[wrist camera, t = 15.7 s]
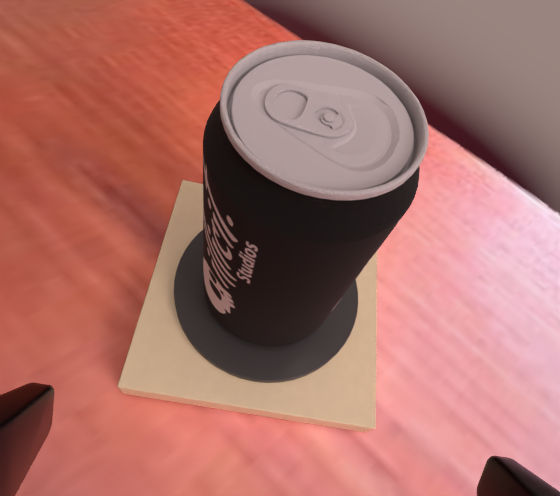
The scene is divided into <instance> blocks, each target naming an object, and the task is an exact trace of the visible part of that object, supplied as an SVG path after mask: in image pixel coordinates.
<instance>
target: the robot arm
mask: <svg viewBox="0 0 560 496" xmlns="http://www.w3.org/2000/svg"><path fill="white" fill-rule="evenodd" d="M53 403H54V388H53V387H52V386H51V385H46V384H39V383H29V384H26V385H24V386H21V387H19V388H16V389H14V390H12V391H9V392H7V393H4V394H2V395H0V496H15V495H16V493H17V491H18V489H19V487H20V485H21V484H22V482H23V480H24V478H25V476H26V474H27V472H28V471H29V469H30V467H31V465H32V463H33V461H34V460H35V458H36V456H37V454H38V452H39V450H40V449H41V447H42V445H43V443H44V441H45V439H46V437H47V436H48V433H49V431H50V428H51V424H52V416H53ZM477 496H560V492H559V491H558V490H556V489H555V488H553V487H552V486H551V485H549V484H548V483H546V482H545V481H543V480H542V479H540V478H539V477H538V476H536V475H535V474H533V473H532V472H530V471H529V470H527V469H526V468H525V467H523V466H522V465H520V464H519V463H517V462H516V461H514V460H513V459H510V458H506V457H500V456H491V457H490V458H489V459H488V460H487V463H486V465H485V468H484V470H483V473H482V476H481V478H480V481H479V483H478V486H477Z"/></svg>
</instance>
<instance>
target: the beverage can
mask: <svg viewBox="0 0 560 496" xmlns="http://www.w3.org/2000/svg"><path fill="white" fill-rule="evenodd" d="M428 135H429V133H428V124H427V120H426V117H425V114H424V111H423V109H422V107H421V105H420V103H419V101H418V99H417V98H416V96H415V95H414V94H413V92H412V91H411V90H410V89H409V87H408V86H407V85H406V84H405V83H404V82H403V81H402V80H401V79H400V78H399V77H398V76H397V75H396V74H395V73H393V72H392V71H391V70H389V69H388V68H386V67H385V66H383V65H382V64H380V63H378V62H377V61H375V60H374V59H372V58H370V57H368V56H366V55H364V54H361V53H359V52H357V51H355V50H352V49H349V48H345V47H342V46H339V45H335V44H330V43H324V42H317V41H306V40H295V41H287V42H279V43H275V44H271V45H267V46H264V47H261V48H259V49H257V50H255V51H253V52H251V53H249V54H248V55H246V56H245V57H243V58H242V59H240V60H239V61H238V62H237V63H236V64H235V65H234V66H233V68H232V69H231V70H230V71H229V73H228V75H227V77H226V79H225V81H224V83H223V86H222V90H221V95H220V100H219V102H218V103H217V104H216V106H215V107H214V109H213V111H212V113H211V115H210V116H209V118H208V120H207V124H206V127H205V131H204V138H203V286H204V293H205V298H206V301H207V303H208V306H209V308H210V310H211V312H212V313H213V315H214V316H215V318H216V319H217V320H218V322H219V323H220V324H221V325H222V326H223V327H224V328H225V329H227V330H228V331H229V332H230V333H232V334H233V335H235V336H237V337H238V338H240V339H242V340H245V341H247V342H250V343H253V344H257V345H262V346H283V345H288V344H292V343H295V342H298V341H300V340H302V339H304V338H306V337H308V336H309V335H311V334H312V333H314V332H315V331H316V330H317V329H318V328H319V327H320V326H321V325H322V324H323V322H324V321H325V320H326V318H327V317H328V316H329V314H330V313H331V312H332V310H333V309H334V308H335V306H336V305H337V304H338V302H339V301H340V300H341V298H342V297H343V295H344V294H345V293H346V291H347V290H348V289H349V287H350V286H351V285H352V283H353V282H354V281H355V279H356V278H357V277H358V275H359V274H360V273H361V271H362V270H363V269H364V267H365V266H366V265H367V263H368V262H369V261H370V259H371V258H372V257H373V255H374V254H375V253H376V251H377V250H378V249H379V247H380V246H381V245H382V243H383V242H384V241H385V239H386V238H387V237H388V235H389V234H390V232H391V231H392V230H393V228H394V227H395V226H396V224H397V223H398V222H399V220H400V219H401V218H402V216H403V215H404V214H405V212H406V211H407V210H408V208H409V207H410V205H411V203H412V201H413V199H414V197H415V194H416V190H417V187H418V180H419V165H420V163H421V162H422V160H423V158H424V155H425V152H426V149H427V146H428Z"/></svg>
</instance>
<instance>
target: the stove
mask: <svg viewBox="0 0 560 496" xmlns="http://www.w3.org/2000/svg"><path fill="white" fill-rule="evenodd" d="M376 327H377V251H376V253H375V254H374V255H373V257H372V258H371V259H370V261H369V262H368V263H367V265H366V266H365V267H364V269H363V270H362V271H361V273H360V274H359V275H358V277H357V278H356V279H355V281H354V282H353V283H352V285H351V286H350V287H349V289H348V290H347V291H346V293H345V294H344V295H343V297H342V298H341V300H340V301H339V302H338V304H337V305H336V306H335V308H334V309H333V310H332V312H331V313H330V314H329V316H328V317H327V318H326V320H325V321H324V322H323V324H322V325H321V326H320V327H319V328H318V329H317V330H316V331H315V332H314V333H312V334H311V335H309V336H308V337H306V338H304V339H302V340H300V341H298V342H295V343H292V344H288V345H283V346H262V345H257V344H253V343H250V342H247V341H245V340H242V339H240V338H238V337H237V336H235V335H233V334H232V333H230V332H229V331H228V330H227V329H225V328H224V327H223V326H222V325H221V324H220V323H219V322H218V320H217V319H216V318H215V316H214V315H213V313H212V312H211V310H210V308H209V306H208V303H207V301H206V298H205V293H204V286H203V184H201V183H196V182H191V181H186V180H182V183H181V186H180V189H179V192H178V195H177V199H176V202H175V205H174V208H173V211H172V214H171V218H170V221H169V224H168V227H167V230H166V233H165V237H164V240H163V243H162V246H161V249H160V252H159V256H158V259H157V262H156V265H155V268H154V271H153V275H152V278H151V281H150V284H149V287H148V290H147V294H146V297H145V300H144V303H143V306H142V309H141V313H140V316H139V319H138V322H137V325H136V328H135V332H134V335H133V338H132V341H131V344H130V347H129V351H128V354H127V357H126V360H125V363H124V366H123V370H122V373H121V376H120V379H119V382H118V385H117V386H118V388H119V389H120V390H121V392H122V393H124V394H128V395H135V396H141V397H147V398H153V399H159V400H166V401H172V402H178V403H184V404H191V405H197V406H203V407H209V408H216V409H222V410H228V411H234V412H241V413H247V414H253V415H259V416H266V417H272V418H278V419H284V420H291V421H297V422H303V423H309V424H315V425H322V426H328V427H334V428H340V429H347V430H353V431H359V432H366V431H369V430H372V429H375V428H376Z"/></svg>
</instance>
